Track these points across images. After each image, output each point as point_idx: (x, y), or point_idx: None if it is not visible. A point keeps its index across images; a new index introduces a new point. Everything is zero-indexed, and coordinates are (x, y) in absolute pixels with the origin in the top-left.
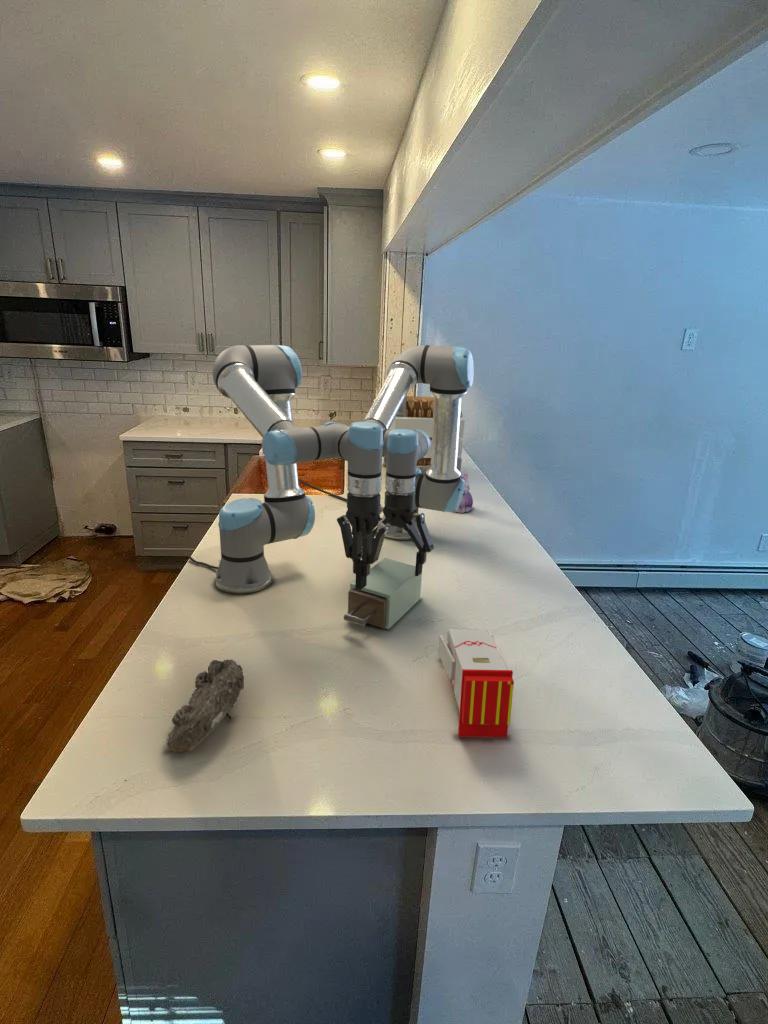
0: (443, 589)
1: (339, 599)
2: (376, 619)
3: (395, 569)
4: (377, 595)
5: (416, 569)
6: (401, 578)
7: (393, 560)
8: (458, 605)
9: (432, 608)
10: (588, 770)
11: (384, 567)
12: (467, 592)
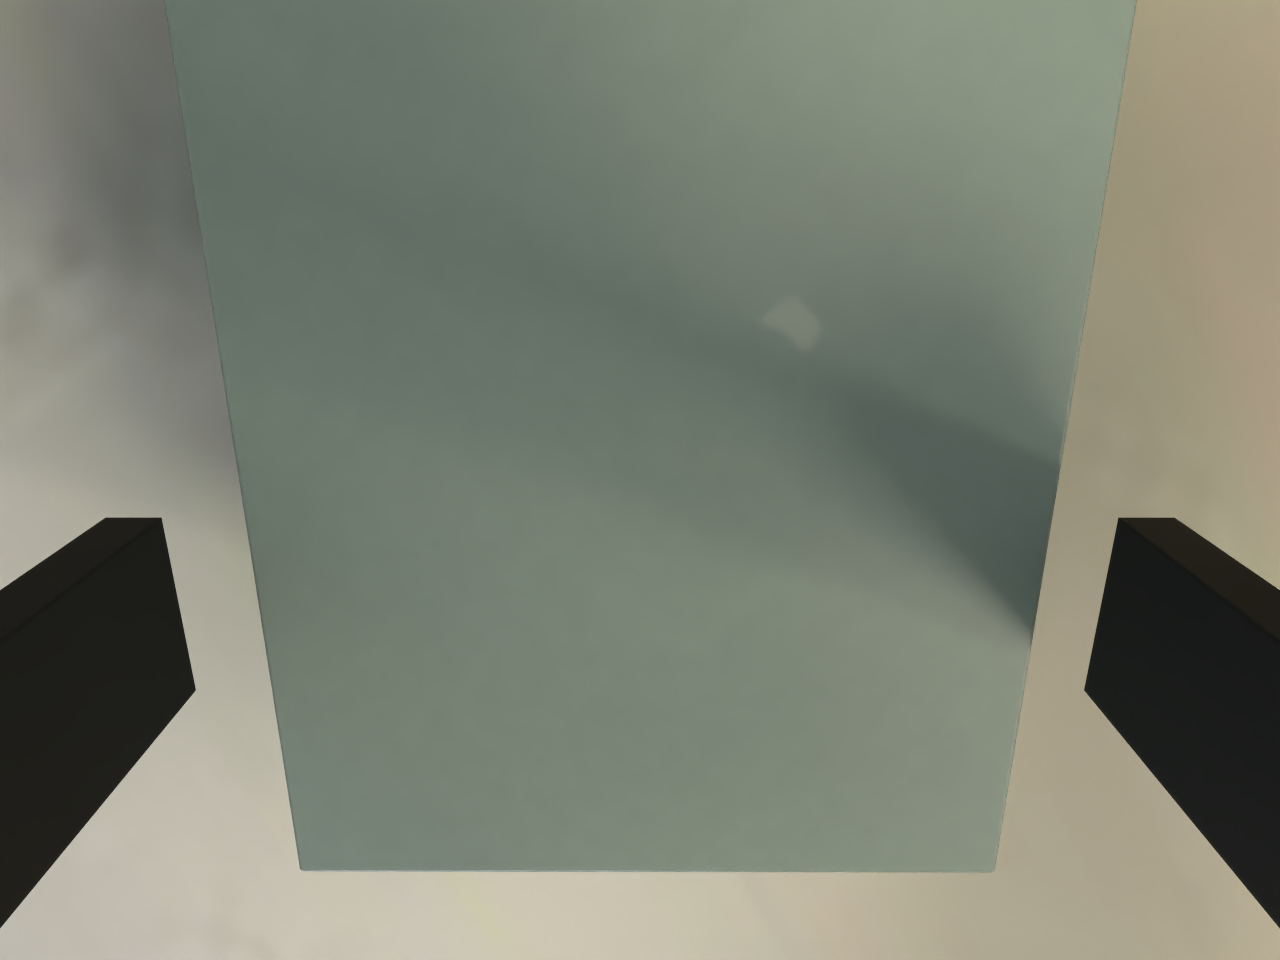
0: (346, 874)
1: (1227, 111)
2: None
3: (638, 600)
4: None
5: (51, 578)
6: (355, 338)
7: (827, 863)
8: None
9: (227, 506)
10: None
11: (850, 568)
12: (142, 927)
